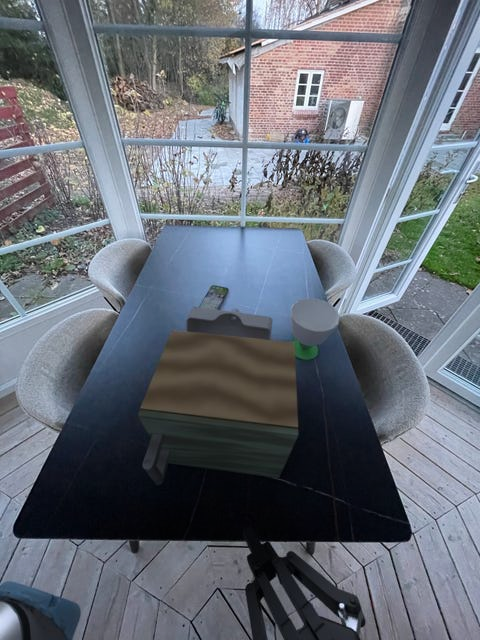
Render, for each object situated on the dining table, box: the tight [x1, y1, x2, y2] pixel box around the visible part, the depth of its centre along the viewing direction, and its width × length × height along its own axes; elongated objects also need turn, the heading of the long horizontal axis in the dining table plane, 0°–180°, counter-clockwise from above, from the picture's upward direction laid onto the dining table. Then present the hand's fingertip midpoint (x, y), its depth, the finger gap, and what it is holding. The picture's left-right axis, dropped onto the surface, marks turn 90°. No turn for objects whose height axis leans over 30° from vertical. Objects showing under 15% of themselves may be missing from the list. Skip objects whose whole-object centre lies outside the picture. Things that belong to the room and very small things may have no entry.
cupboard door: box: [137, 409, 299, 486], centre depth 50 cm, size 7×26×24 cm, turn 84°
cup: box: [290, 297, 341, 361], centre depth 80 cm, size 14×14×16 cm
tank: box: [185, 306, 273, 340], centre depth 83 cm, size 25×16×12 cm, turn 80°
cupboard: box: [140, 329, 299, 430], centre depth 59 cm, size 18×26×24 cm
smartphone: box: [198, 284, 229, 310], centre depth 101 cm, size 7×1×15 cm
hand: (249, 535), depth 41 cm, fingers closed
